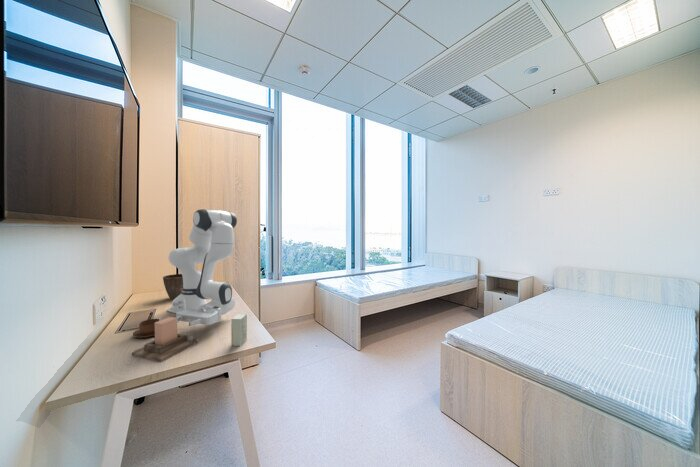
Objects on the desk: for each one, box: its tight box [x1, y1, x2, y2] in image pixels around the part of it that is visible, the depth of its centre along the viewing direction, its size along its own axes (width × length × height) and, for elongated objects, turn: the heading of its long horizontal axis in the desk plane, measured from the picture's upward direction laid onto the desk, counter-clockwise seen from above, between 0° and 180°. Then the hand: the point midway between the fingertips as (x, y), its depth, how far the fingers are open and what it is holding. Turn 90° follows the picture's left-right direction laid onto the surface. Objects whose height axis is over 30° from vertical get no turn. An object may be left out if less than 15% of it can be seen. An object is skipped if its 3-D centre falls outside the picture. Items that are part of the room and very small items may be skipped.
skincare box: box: [230, 313, 248, 347], centre depth 108 cm, size 6×4×12 cm
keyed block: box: [154, 316, 178, 346], centre depth 103 cm, size 4×6×11 cm, turn 164°
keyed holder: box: [131, 333, 199, 363], centre depth 103 cm, size 16×16×4 cm
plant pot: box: [162, 273, 183, 301], centre depth 171 cm, size 15×15×16 cm
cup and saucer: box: [132, 318, 160, 339], centre depth 116 cm, size 12×12×6 cm
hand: (181, 323), depth 110 cm, fingers open, 8 cm apart
